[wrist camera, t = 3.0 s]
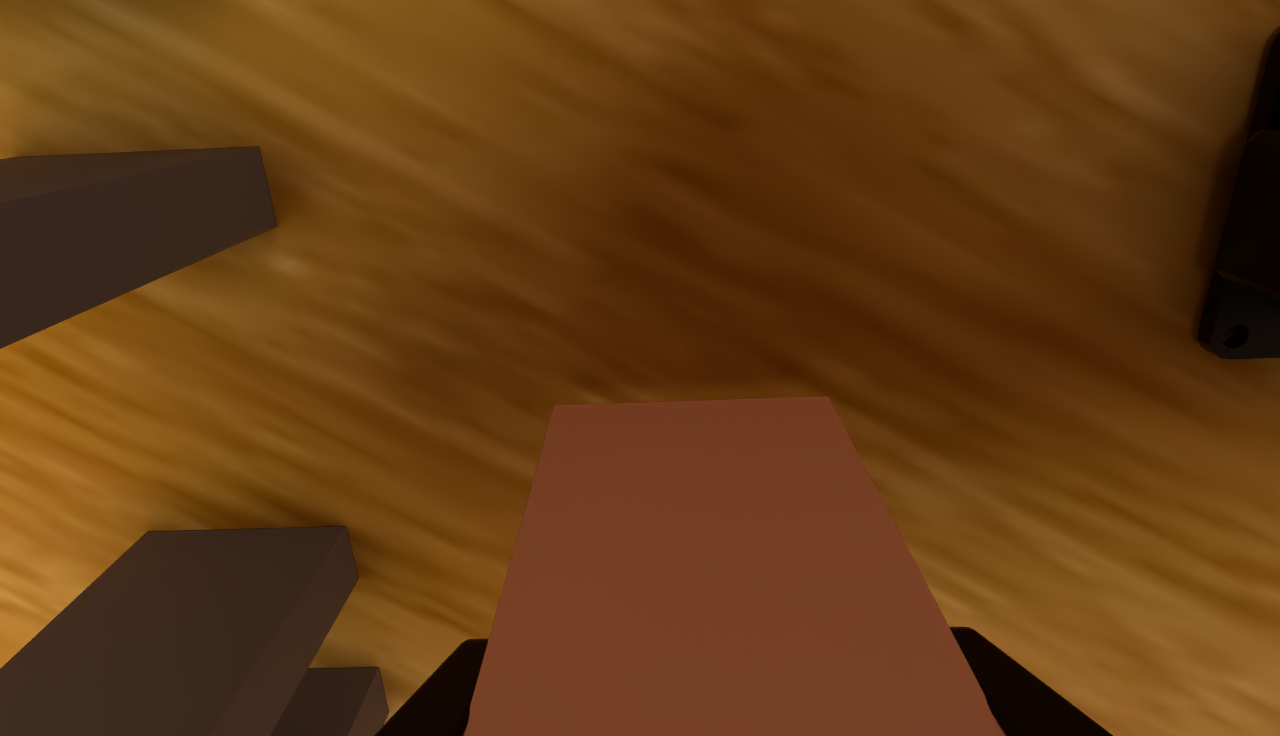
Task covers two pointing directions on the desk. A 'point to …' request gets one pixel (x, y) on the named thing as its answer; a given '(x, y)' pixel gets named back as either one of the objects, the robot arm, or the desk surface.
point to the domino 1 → (116, 225)
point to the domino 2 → (184, 637)
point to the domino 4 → (716, 586)
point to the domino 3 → (335, 704)
